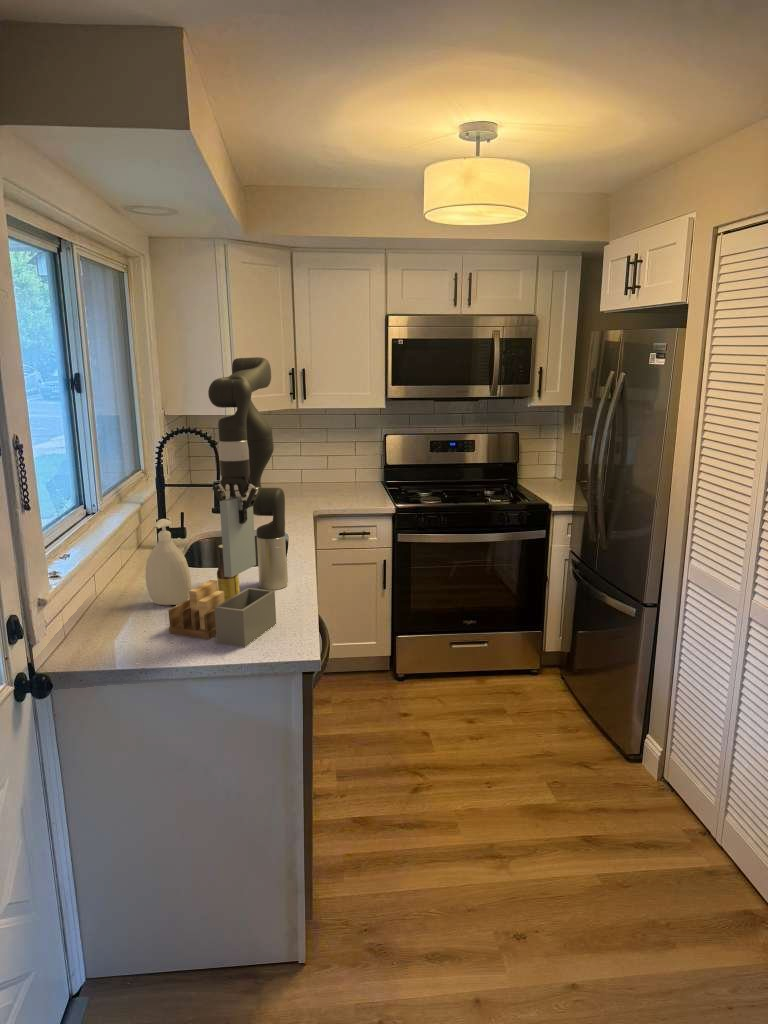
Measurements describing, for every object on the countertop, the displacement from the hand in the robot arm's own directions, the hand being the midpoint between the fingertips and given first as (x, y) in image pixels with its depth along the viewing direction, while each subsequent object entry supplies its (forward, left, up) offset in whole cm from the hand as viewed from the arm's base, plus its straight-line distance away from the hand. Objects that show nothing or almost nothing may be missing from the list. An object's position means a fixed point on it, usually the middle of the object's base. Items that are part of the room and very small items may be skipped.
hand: (238, 522), depth 175 cm
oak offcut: (-1, -13, -29) cm, 32 cm away
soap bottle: (-13, -35, -31) cm, 48 cm away
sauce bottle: (-16, -15, -31) cm, 38 cm away
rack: (0, -13, -31) cm, 34 cm away
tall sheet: (0, 0, -13) cm, 13 cm away
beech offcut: (+1, -9, -29) cm, 31 cm away
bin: (0, +1, -31) cm, 31 cm away
